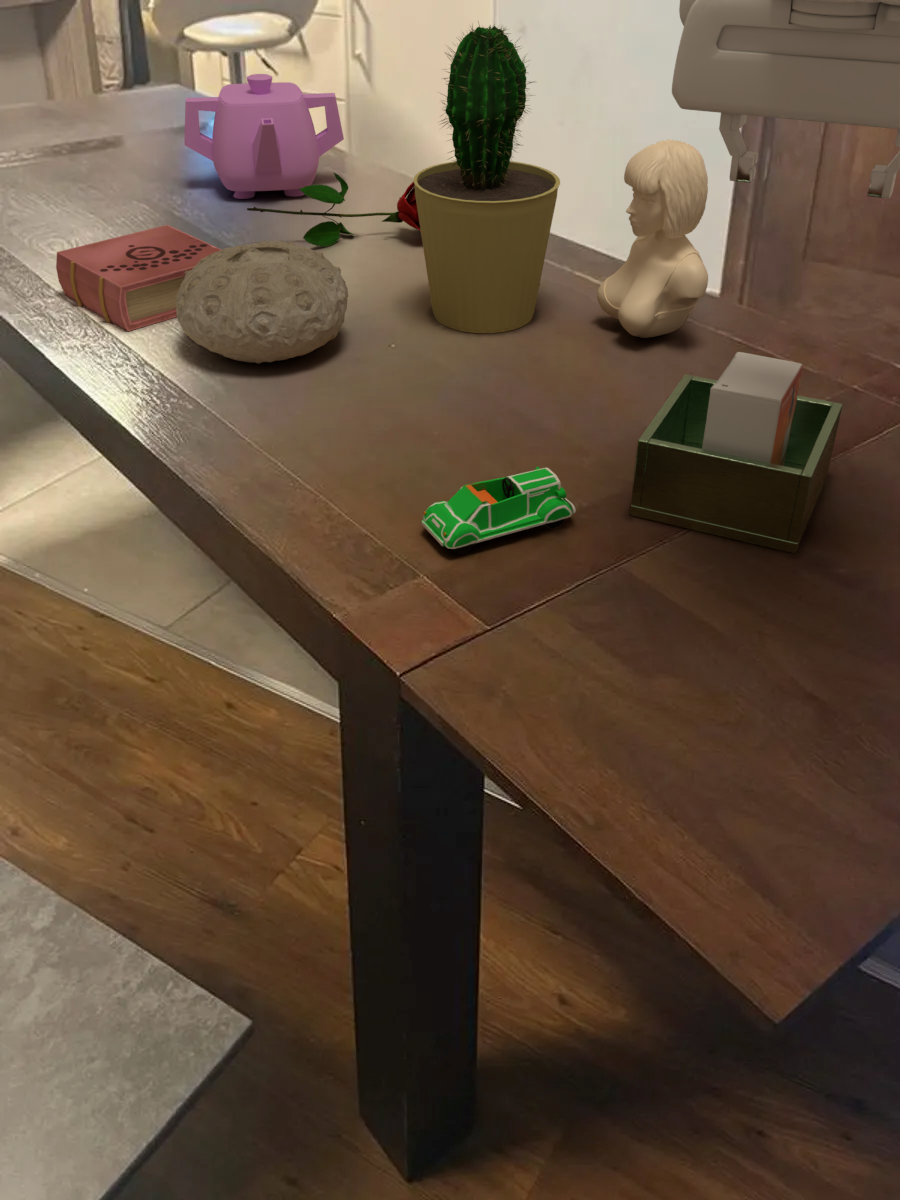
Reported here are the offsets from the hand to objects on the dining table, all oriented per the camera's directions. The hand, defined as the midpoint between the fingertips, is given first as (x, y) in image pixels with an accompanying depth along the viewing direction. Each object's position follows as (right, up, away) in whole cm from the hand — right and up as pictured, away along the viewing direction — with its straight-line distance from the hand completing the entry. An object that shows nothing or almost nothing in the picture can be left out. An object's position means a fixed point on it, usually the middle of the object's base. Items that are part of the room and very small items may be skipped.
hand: (809, 187), depth 82 cm
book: (-60, +6, +54) cm, 81 cm away
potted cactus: (-21, +3, +51) cm, 55 cm away
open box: (-1, -20, +18) cm, 27 cm away
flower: (-35, +17, +70) cm, 80 cm away
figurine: (-4, 0, +47) cm, 47 cm away
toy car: (-21, -23, +14) cm, 34 cm away
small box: (-1, -20, +17) cm, 26 cm away
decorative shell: (-44, -2, +44) cm, 62 cm away
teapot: (-51, +31, +89) cm, 107 cm away
